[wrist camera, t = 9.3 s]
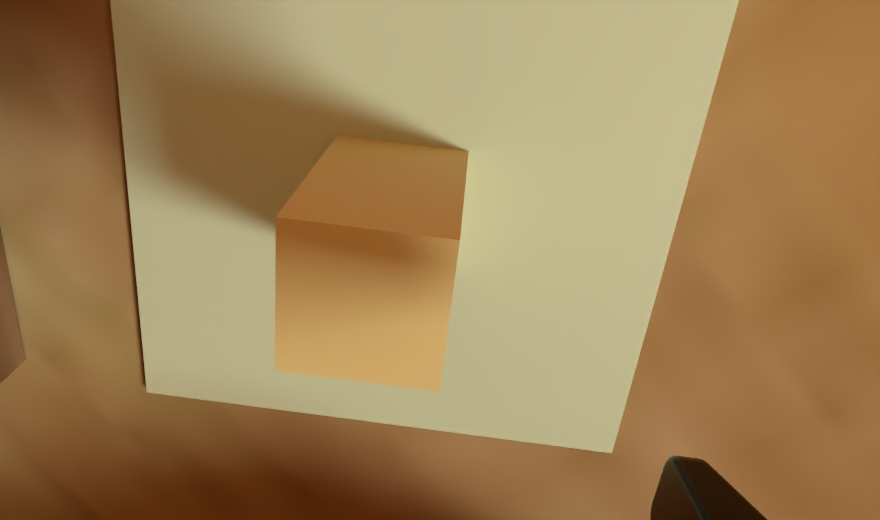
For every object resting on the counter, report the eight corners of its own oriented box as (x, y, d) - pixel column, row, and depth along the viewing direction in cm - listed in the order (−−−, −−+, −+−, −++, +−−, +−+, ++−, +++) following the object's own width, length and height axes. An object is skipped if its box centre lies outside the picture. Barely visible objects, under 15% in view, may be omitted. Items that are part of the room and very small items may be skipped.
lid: (743, -65, 14) (893, -64, 9) (607, 434, 20) (649, 614, 15) (116, -142, 14) (-100, -183, 9) (158, 375, 20) (41, 533, 15)
